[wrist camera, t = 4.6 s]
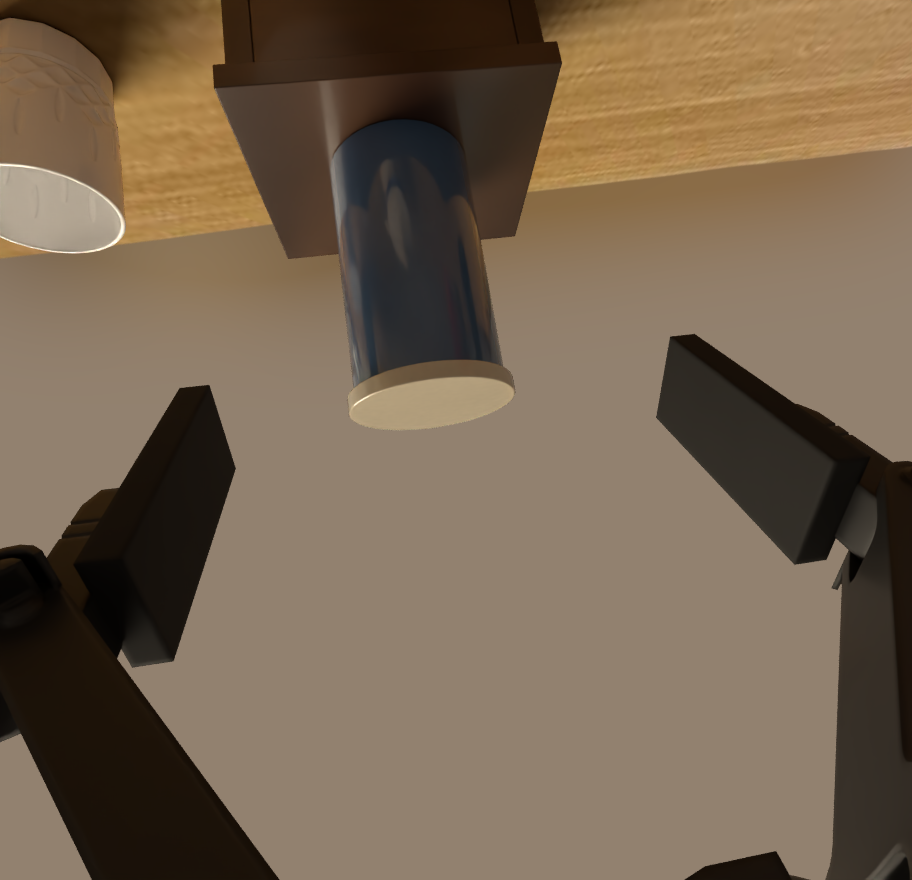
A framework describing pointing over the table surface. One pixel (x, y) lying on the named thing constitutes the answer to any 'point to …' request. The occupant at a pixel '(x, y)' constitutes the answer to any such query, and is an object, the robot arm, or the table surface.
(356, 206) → the blue lidded mug
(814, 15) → the table surface
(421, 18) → the brown miniature bookshelf
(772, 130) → the table surface
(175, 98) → the table surface
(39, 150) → the white cup
